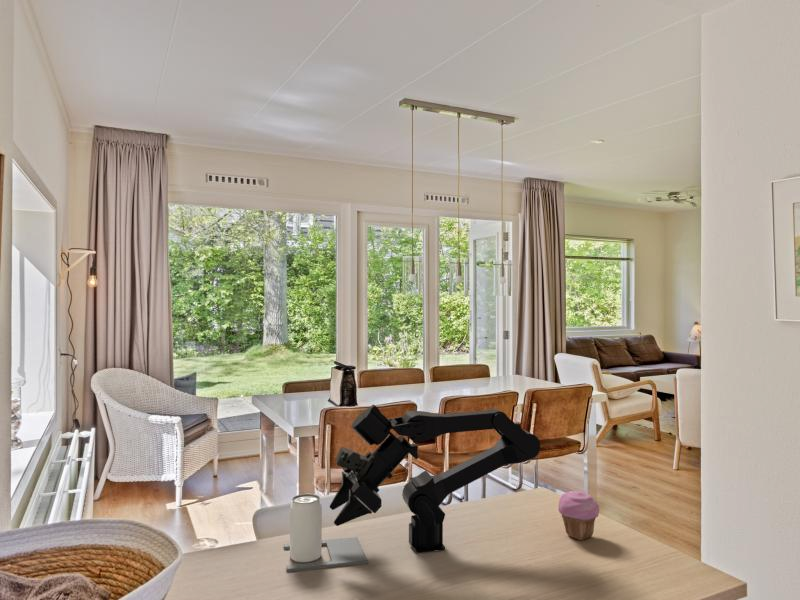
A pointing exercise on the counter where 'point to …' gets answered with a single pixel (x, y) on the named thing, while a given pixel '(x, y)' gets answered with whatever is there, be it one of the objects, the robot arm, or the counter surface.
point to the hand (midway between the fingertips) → (333, 516)
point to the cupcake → (578, 514)
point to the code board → (335, 555)
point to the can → (305, 528)
